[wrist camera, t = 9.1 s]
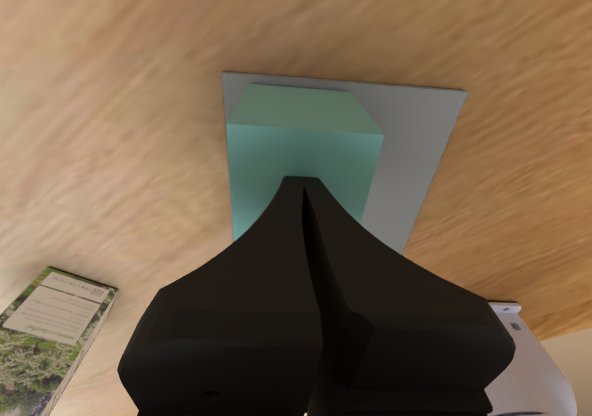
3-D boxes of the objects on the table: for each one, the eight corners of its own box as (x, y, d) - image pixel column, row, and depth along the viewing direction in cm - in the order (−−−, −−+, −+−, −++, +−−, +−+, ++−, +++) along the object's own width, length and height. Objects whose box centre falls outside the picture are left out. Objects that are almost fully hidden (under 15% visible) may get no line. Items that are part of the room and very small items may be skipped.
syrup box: (38, 301, 25) (-188, 563, 13) (46, 262, 22) (-231, 550, 10) (105, 320, 27) (-39, 564, 15) (121, 287, 24) (-41, 554, 12)
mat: (463, 89, 15) (468, 91, 15) (396, 258, 23) (398, 262, 22) (223, 70, 14) (221, 72, 14) (235, 251, 22) (234, 256, 21)
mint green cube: (351, 92, 14) (384, 134, 9) (334, 180, 17) (353, 249, 12) (248, 83, 14) (226, 123, 9) (250, 175, 17) (234, 243, 12)
